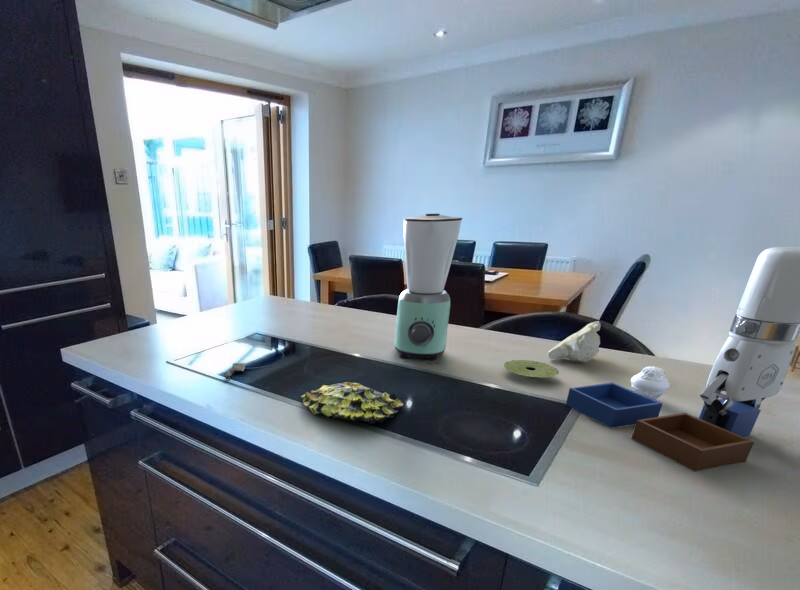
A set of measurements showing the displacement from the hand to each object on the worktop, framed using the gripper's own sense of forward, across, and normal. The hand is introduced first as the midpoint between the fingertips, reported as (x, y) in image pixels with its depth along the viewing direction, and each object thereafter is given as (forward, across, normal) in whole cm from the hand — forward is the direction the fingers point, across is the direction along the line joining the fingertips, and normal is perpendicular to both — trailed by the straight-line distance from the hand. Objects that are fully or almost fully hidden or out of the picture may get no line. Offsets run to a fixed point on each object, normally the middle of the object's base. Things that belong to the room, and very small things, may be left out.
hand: (722, 429), depth 76 cm
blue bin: (0, -12, +11) cm, 16 cm away
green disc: (+1, -13, +31) cm, 34 cm away
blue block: (0, 0, 0) cm, 0 cm away
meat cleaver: (+1, -79, +53) cm, 95 cm away
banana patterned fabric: (+1, -59, +27) cm, 65 cm away
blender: (+1, -29, +53) cm, 60 cm away
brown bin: (0, -12, -3) cm, 12 cm away
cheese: (+1, +7, +39) cm, 40 cm away
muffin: (+1, 0, +14) cm, 14 cm away
